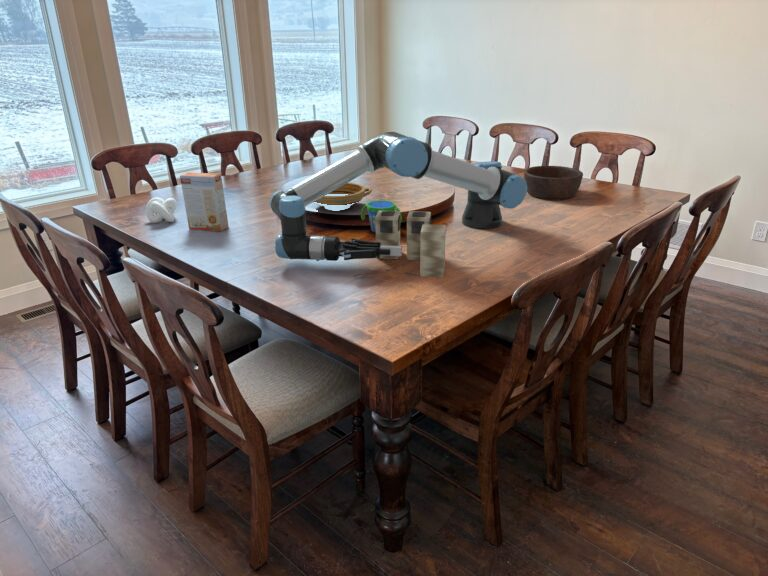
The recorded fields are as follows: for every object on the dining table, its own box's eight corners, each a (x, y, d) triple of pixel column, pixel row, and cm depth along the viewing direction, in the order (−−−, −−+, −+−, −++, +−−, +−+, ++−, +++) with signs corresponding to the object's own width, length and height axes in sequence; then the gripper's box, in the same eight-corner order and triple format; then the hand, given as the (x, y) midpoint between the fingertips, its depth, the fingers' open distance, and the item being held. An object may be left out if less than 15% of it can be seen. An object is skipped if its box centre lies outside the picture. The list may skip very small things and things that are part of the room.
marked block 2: (401, 251, 186) (400, 210, 180) (398, 259, 179) (398, 216, 173) (379, 250, 187) (378, 209, 181) (376, 258, 180) (375, 216, 174)
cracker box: (229, 227, 212) (221, 173, 203) (221, 232, 207) (213, 176, 198) (197, 224, 215) (188, 171, 207) (188, 229, 210) (179, 175, 201)
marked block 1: (430, 252, 184) (431, 211, 178) (429, 260, 178) (430, 217, 172) (409, 251, 185) (409, 210, 179) (406, 259, 179) (406, 217, 173)
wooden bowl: (587, 201, 235) (591, 178, 231) (528, 202, 236) (530, 178, 232) (570, 187, 258) (573, 165, 254) (517, 187, 259) (518, 165, 254)
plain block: (444, 268, 172) (445, 225, 166) (443, 276, 166) (444, 232, 160) (422, 267, 173) (422, 224, 167) (420, 275, 167) (420, 231, 161)
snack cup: (406, 229, 206) (406, 203, 202) (393, 238, 198) (392, 210, 193) (370, 223, 213) (369, 197, 209) (356, 231, 205) (355, 205, 200)
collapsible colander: (366, 197, 247) (366, 179, 244) (377, 213, 226) (377, 193, 222) (300, 202, 242) (298, 184, 238) (304, 218, 220) (303, 199, 217)
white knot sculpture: (167, 214, 228) (163, 193, 225) (187, 218, 223) (183, 197, 219) (143, 222, 220) (139, 200, 216) (164, 226, 214) (159, 204, 210)
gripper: (331, 252, 178) (404, 254, 175) (321, 267, 167) (399, 270, 163) (330, 229, 175) (404, 232, 172) (319, 244, 164) (398, 247, 160)
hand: (401, 251), depth 168 cm, fingers closed
